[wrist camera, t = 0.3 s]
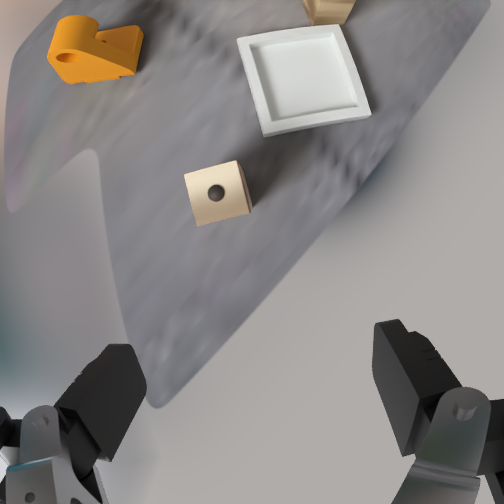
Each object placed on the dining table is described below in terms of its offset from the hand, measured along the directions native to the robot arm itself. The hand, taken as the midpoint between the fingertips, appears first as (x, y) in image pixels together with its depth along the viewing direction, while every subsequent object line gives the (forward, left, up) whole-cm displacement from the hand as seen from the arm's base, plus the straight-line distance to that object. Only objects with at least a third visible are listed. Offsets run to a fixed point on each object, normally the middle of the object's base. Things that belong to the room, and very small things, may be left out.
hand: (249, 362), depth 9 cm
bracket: (-30, -14, -28) cm, 43 cm away
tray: (-18, +10, -28) cm, 35 cm away
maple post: (-6, -2, -28) cm, 28 cm away
